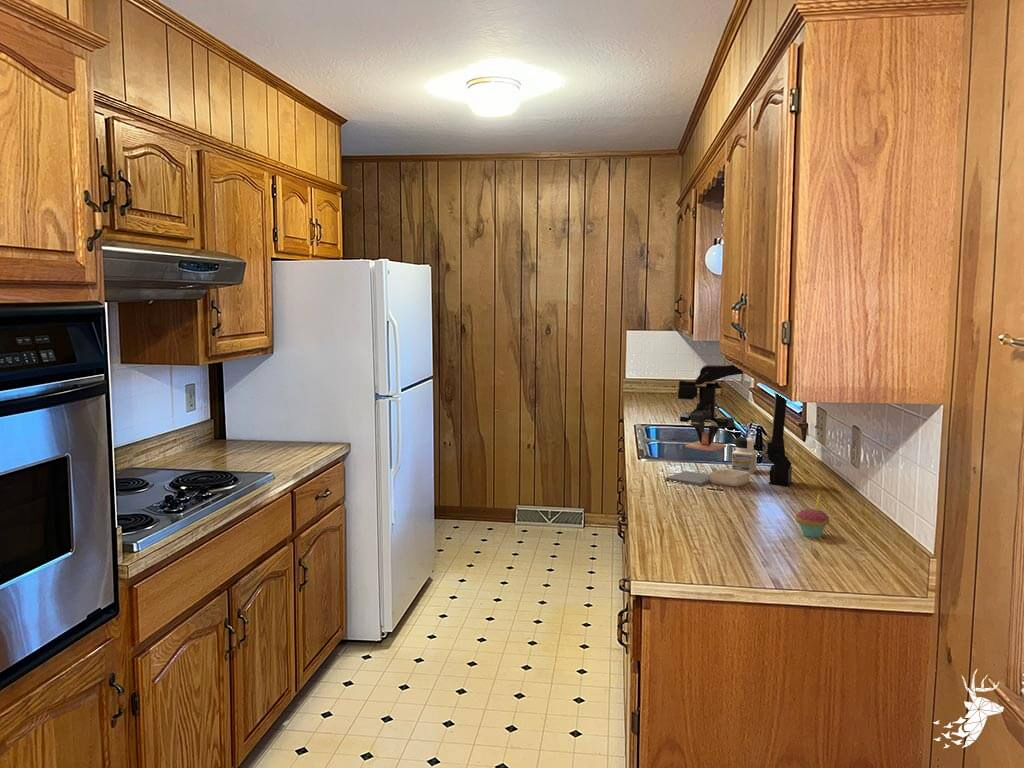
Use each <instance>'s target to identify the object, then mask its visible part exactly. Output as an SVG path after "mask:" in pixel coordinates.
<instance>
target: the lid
mask: <svg viewBox="0 0 1024 768" xmlns="http://www.w3.org/2000/svg"><path fill="white" fill-rule="evenodd" d="M684 447H685V448H689V449H695V450H703V451H709V452H714V451H717V450H720V449H724V448H727V444H724V443H715V442H712V443H711V444H709V431H704V432H702V443H700V440H698V441H694V442H691V443H687V444H684Z"/></svg>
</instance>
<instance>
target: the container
mask: <svg viewBox="0 0 1024 768" xmlns="http://www.w3.org/2000/svg"><path fill="white" fill-rule="evenodd" d="M754 442H755V441H754V439H753V438H752V437H749V436H737V438H735V450H734V451H732V452H731V470H738V471H745V472H749V473H750V474H749V475H753V474H754V473H755V472H756V471H757V450H754V449H755V448H754V445H755V444H754Z"/></svg>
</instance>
